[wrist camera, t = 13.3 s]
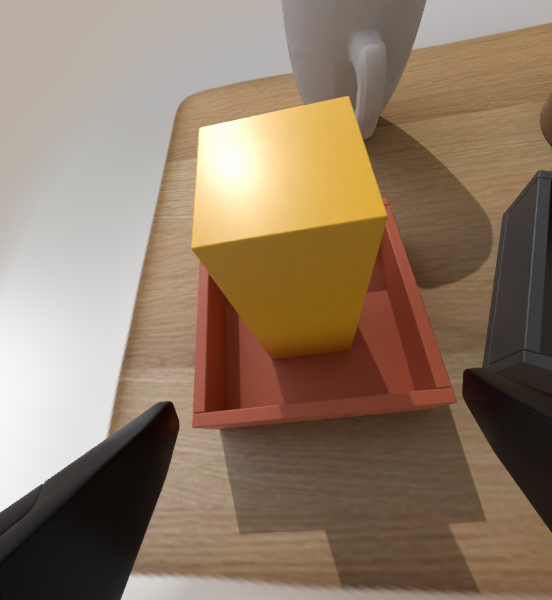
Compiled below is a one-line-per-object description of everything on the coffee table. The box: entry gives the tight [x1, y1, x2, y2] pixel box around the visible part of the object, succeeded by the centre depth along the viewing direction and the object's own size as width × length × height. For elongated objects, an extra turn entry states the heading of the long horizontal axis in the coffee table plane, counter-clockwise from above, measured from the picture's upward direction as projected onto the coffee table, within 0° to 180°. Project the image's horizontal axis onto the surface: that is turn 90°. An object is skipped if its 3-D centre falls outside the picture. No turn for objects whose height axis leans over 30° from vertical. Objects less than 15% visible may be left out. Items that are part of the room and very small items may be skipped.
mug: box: [281, 0, 426, 140], centre depth 20 cm, size 12×9×10 cm
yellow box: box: [191, 96, 388, 360], centre depth 12 cm, size 4×4×11 cm
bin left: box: [192, 197, 456, 429], centre depth 16 cm, size 11×11×4 cm
